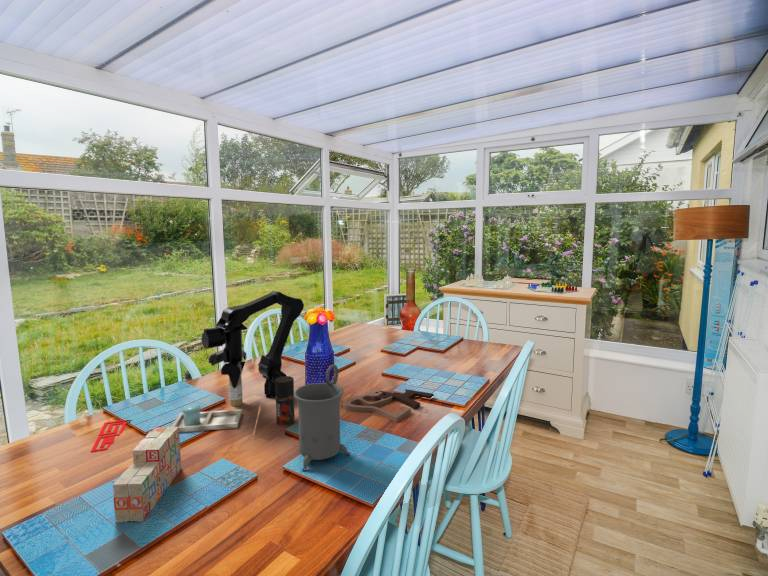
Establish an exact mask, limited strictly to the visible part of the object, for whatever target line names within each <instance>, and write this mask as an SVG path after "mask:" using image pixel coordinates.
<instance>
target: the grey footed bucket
mask: <svg viewBox="0 0 768 576" xmlns="http://www.w3.org/2000/svg"><path fill="white" fill-rule="evenodd" d="M332 369H334V373H335V374H334V375H332V378H331V380H330V373H331V370H332ZM338 378H339V368H338V365H336V364H330V365H329V367H328V368H327V369H326V371H325V382H316V383H315V382H313V383H308V384H305V385H302V386H299V387H298V388H297V389H294V399H295V400H296V403H297V410H298V414H297V415H298V442H299V443H298V444H299V445H298V447H299V454H300V455H301V456H302V457H304V459H303V465H302V469H303V470H304V469H307V468H308V467H309V464H310V463H311V461H313V460H317V461H318V460H319V461H320V460H327V459H330V458H332V457H334V456H336V455H337V454H338V453H339V452H342V453H343V454H345V455H346V454H349V455H351V453H350V451H348V448H347V446H346V445H344V444H343V443H341V414H340V412H341V411H340V409H341V406H340V405H341V399H342V396H343V394H344V389H343V387H341V386H340V385H338V384H337V382H338ZM302 469H301V470H302ZM303 470H302V471H303Z"/></svg>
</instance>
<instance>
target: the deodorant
mask: <svg viewBox="0 0 768 576" xmlns="http://www.w3.org/2000/svg"><path fill="white" fill-rule="evenodd" d="M275 389H276V397H275V414H276V419H275V420H276V424H277V426H280V427H288V426H292V425H294V424H295V421H296V420H295V415H296V414H295V397H294V392H295V380H294V377H293V376H290V375H287V376H282V377H278V378H276V379H275Z"/></svg>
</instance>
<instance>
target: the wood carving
mask: <svg viewBox="0 0 768 576" xmlns="http://www.w3.org/2000/svg"><path fill="white" fill-rule="evenodd" d="M405 391H406V392H405ZM405 391H404V393H396V392H389V391H384V390H376V389H375V390H374V389H370V390H368V391H366V392H365V393H364V394H362V395H358V396H354V397H350V398H347V399H345V400H344V401H343V402H342V406H343V407H342V408H343V409H345V410H346V411H349V412H350V411H351V412H358V413H359V412H360V413H364V412H365V413H366V412H368V413H369V412H370V413H375V414H377V415H380V416H383V417H385V418H387V419H389V420H391V421H392V422H395V423H398V422H400V421H401V420H403V419H404V418H406V417H408V416H409V415H411V413H412V409H413V410H415V411H416V410H418V409H420V408H421V402H420V401H417V400H415V398H414V397H415V396H419V397H426V398H431V397H432V396H434V395H435V394H434V393H432V392H425V391H418V390H413V389H405ZM434 397H435V396H434ZM371 401H373V402H371ZM393 401H395V402H398V403H401V405H402V404H403V405H404V406H407V407H408V408H407V407H406V408H404V409H400V410H396V411H394V412H392V411H389V410H385V409H383V408H380V407H381V406H383V405H387V404H389V403H391V402H393ZM359 404H360V405H359Z"/></svg>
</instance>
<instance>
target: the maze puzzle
mask: <svg viewBox="0 0 768 576" xmlns="http://www.w3.org/2000/svg"><path fill="white" fill-rule="evenodd" d="M123 420H124V419H120V420H113V421H107V422H106V421H105V422H103V425H102V427H101V429H100V431H99V433H98V436H97V437H96V440H95V442H94V444H93V445H92V448H91V450H90V453H96V452H101V451H106V450H109V449H110V447H112V445H113V444H114V443H115V437H117V438H119V437H120V435H122V433H123V432H124V431H125V430H126V426H127V424H128V423H127V421H123ZM108 425H109V426H108ZM120 425H121V427H120ZM107 426H108V428H107ZM113 427H114V429H113ZM119 427H120V431H119V433H118V430H119ZM106 428H107V430H106ZM112 429H113V431H112ZM105 430H106V432H105ZM101 439H102V441H101ZM100 441H101V444H100V446H99V443H100ZM105 445H107V446H106V447H105ZM98 447H99V448H98Z"/></svg>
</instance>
